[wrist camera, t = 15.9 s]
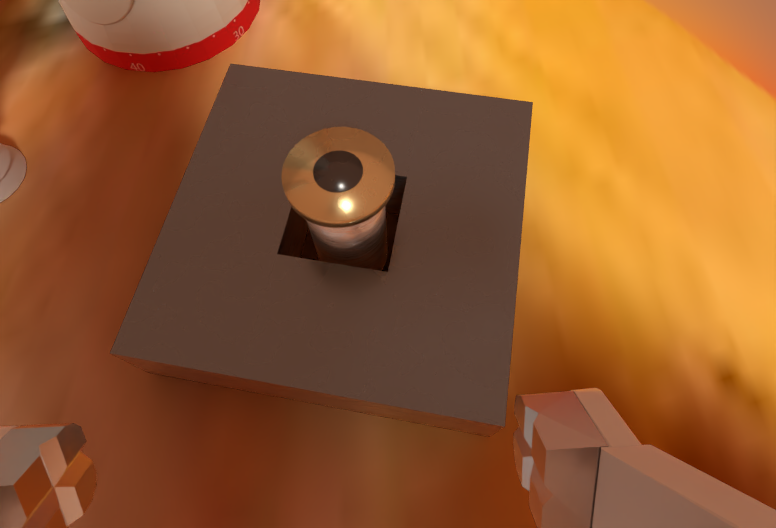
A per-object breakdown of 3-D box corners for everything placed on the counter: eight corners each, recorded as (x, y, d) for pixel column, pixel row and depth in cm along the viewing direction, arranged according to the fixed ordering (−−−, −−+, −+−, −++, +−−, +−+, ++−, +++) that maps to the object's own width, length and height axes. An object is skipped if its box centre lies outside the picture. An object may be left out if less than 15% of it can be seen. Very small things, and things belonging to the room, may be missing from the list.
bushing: (388, 298, 28) (384, 227, 21) (301, 285, 29) (267, 211, 22) (402, 221, 30) (402, 132, 23) (321, 210, 31) (296, 120, 24)
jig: (489, 436, 25) (504, 426, 22) (148, 372, 27) (109, 353, 23) (517, 146, 33) (532, 102, 29) (248, 109, 34) (230, 63, 31)
